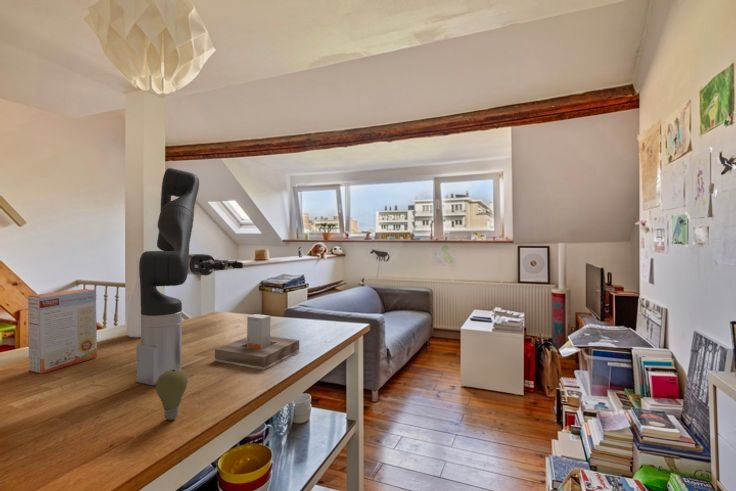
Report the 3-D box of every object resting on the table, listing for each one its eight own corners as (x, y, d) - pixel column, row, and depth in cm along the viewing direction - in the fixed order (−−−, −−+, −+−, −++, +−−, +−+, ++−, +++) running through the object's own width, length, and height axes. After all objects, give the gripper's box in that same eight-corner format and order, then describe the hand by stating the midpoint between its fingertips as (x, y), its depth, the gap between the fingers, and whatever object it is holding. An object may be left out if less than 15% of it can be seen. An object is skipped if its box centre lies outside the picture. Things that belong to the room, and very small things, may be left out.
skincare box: (246, 354, 107) (246, 316, 107) (256, 350, 111) (256, 313, 111) (261, 357, 105) (261, 318, 105) (270, 353, 109) (271, 315, 109)
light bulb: (192, 412, 72) (192, 365, 72) (178, 426, 67) (178, 375, 67) (165, 412, 72) (165, 365, 72) (149, 426, 67) (149, 375, 66)
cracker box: (84, 355, 106) (84, 288, 106) (97, 358, 104) (97, 289, 104) (26, 371, 93) (26, 294, 93) (40, 374, 91) (40, 296, 91)
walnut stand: (264, 369, 96) (264, 357, 96) (214, 360, 103) (214, 348, 103) (299, 350, 113) (299, 340, 113) (254, 344, 120) (255, 334, 120)
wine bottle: (120, 337, 126) (120, 256, 125) (138, 331, 135) (139, 254, 135) (145, 338, 125) (146, 256, 125) (162, 331, 135) (162, 255, 134)
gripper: (180, 254, 116) (217, 255, 110) (213, 253, 129) (247, 254, 123) (180, 276, 116) (217, 278, 110) (213, 273, 129) (247, 275, 123)
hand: (233, 266), depth 117 cm, fingers open, 8 cm apart
